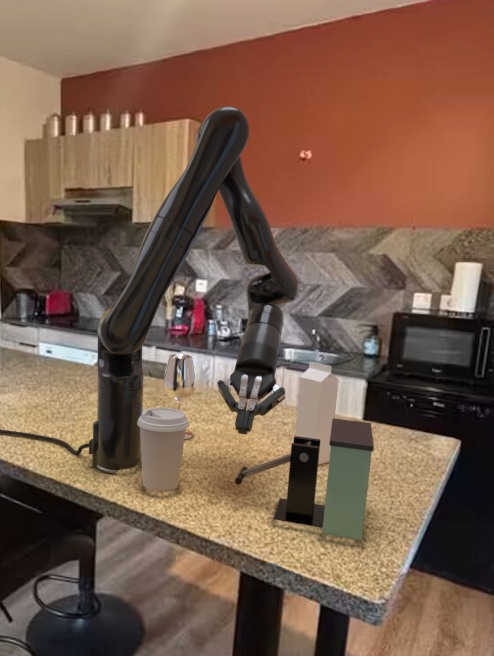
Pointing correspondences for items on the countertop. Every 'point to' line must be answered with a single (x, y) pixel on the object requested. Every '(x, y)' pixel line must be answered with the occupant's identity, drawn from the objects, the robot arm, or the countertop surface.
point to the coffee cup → (162, 447)
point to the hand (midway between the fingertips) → (242, 432)
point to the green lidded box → (347, 478)
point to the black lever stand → (302, 486)
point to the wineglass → (179, 380)
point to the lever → (263, 467)
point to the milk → (317, 406)
